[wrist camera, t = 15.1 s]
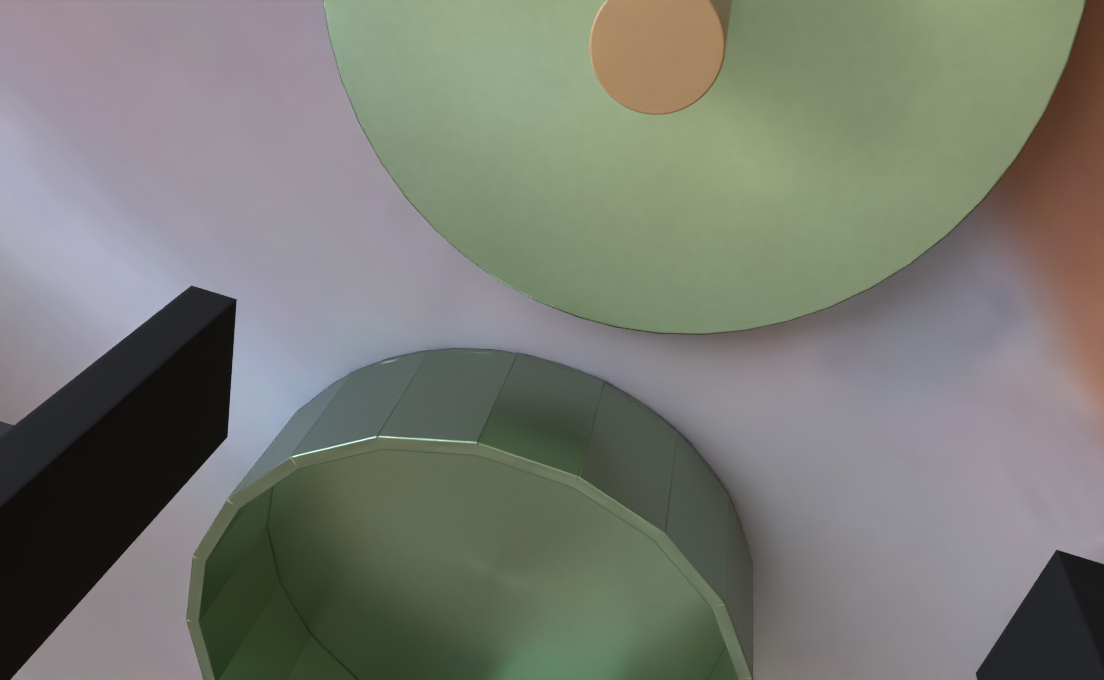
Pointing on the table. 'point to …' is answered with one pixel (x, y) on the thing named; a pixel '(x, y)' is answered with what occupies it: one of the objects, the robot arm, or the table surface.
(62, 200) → the table surface
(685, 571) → the pot
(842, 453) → the table surface
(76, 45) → the table surface
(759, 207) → the pot lid
